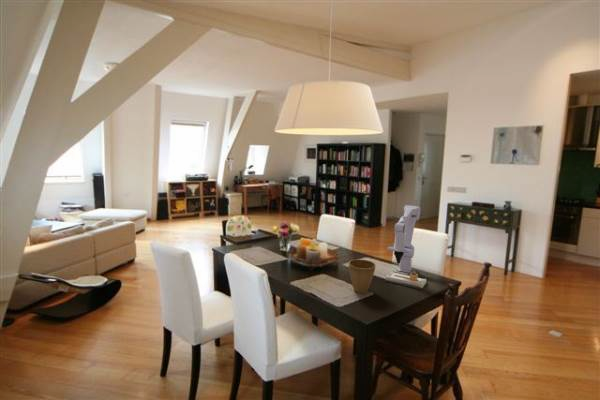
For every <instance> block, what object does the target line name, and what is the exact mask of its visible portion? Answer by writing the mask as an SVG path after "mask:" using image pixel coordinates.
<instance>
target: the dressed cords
mask: <svg viewBox="0 0 600 400" xmlns="http://www.w3.org/2000/svg"><path fill="white" fill-rule="evenodd" d="M393 272H394V273H398V274H403V275H407V276H410V274H408V273H403V272H402V273H401V272H399V271H393ZM418 278H421V279H425V280H426V282H427V280H428V279H427V278H423V277H421V276H418ZM384 281H385V282H387V283H391V284H396V285H400V286H405V287H408V288H412V289H417V290H421V289H422V288H421V287H418V286H414V285H410V284H405V283H401V282H397V281H393V280H388V279H386V278H385V279H384Z"/></svg>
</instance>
